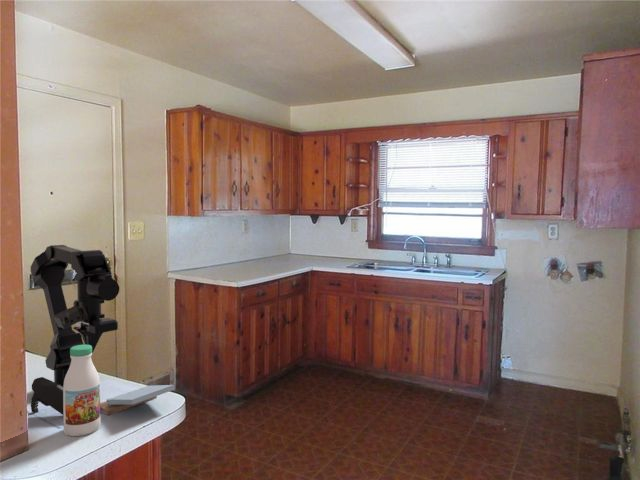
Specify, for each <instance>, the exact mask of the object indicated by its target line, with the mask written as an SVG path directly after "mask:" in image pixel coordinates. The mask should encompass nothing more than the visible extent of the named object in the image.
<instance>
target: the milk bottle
mask: <svg viewBox="0 0 640 480" xmlns="http://www.w3.org/2000/svg"><path fill="white" fill-rule="evenodd" d="M92 356H93V352H92V346H91V345H85V344H84V345H77V346H73V347H71V348H70V358H71V364H70V367H69V370H68V372H67V374H66V376H65V379H64V385H63V415H62V416H63V432H64V434H65V435H66V436H70V437H81V436H86V435H89V434H93V433H94V432H96V431H98V430H99V428H100V426H101V411H100V403H101V386H100V385H101V383H100V376H99V373H98V371H97V369H96V367H95V365H94V363H93V360H92Z"/></svg>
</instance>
